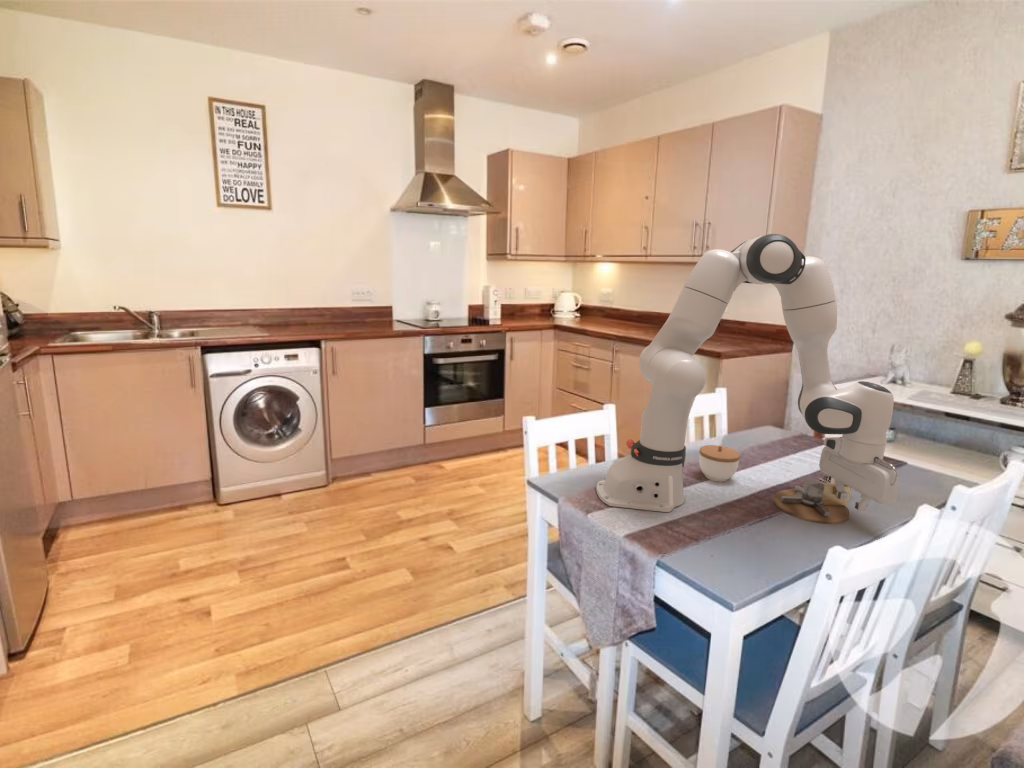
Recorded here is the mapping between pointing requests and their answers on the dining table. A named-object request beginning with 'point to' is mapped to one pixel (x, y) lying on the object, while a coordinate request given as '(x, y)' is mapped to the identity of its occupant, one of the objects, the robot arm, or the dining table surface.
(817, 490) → the capstan
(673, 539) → the dining table surface
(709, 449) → the lidded jar
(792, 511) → the foot plate
